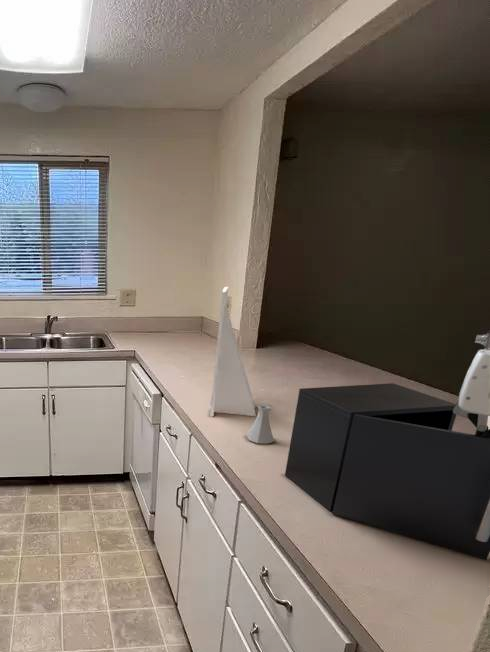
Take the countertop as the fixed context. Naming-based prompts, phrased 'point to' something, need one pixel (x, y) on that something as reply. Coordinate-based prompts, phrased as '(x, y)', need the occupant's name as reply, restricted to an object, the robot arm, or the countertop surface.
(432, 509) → the fridge door
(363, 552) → the countertop surface
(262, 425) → the flask
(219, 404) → the white bracket plate
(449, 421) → the mini fridge
